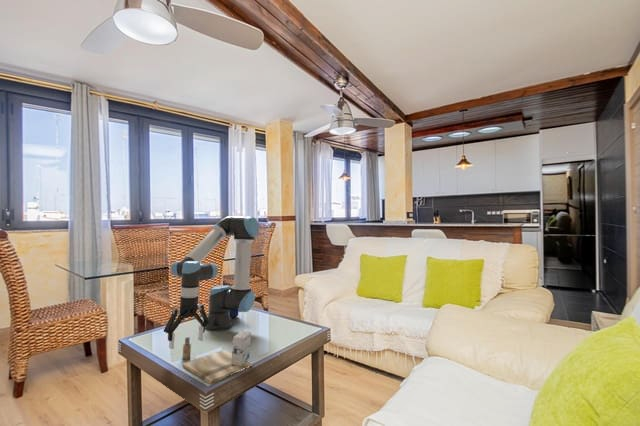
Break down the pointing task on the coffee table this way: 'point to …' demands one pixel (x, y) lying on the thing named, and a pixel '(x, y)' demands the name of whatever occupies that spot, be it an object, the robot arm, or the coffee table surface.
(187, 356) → the brown bottle
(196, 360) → the board
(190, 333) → the coffee table surface
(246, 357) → the ink box
